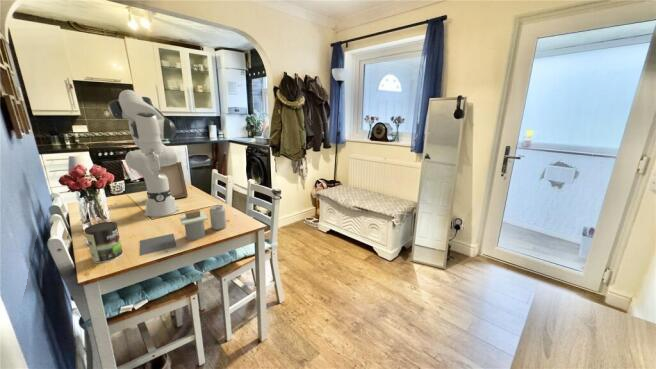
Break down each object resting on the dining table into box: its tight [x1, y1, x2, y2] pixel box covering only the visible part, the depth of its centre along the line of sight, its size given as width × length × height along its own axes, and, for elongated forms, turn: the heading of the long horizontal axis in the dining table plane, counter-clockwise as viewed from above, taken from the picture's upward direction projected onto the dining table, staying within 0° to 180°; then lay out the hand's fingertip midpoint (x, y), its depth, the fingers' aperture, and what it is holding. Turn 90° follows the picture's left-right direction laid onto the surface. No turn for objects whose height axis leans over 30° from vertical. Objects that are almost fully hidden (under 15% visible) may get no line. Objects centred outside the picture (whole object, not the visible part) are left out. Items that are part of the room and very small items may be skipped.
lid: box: [178, 209, 209, 226], centre depth 127 cm, size 11×11×3 cm
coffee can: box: [84, 221, 124, 264], centre depth 109 cm, size 10×10×14 cm
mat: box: [138, 233, 178, 257], centre depth 122 cm, size 16×14×1 cm
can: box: [209, 204, 227, 231], centre depth 139 cm, size 8×8×12 cm
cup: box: [184, 220, 206, 241], centre depth 128 cm, size 8×8×10 cm
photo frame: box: [159, 161, 189, 199], centre depth 181 cm, size 15×22×25 cm
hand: (156, 176), depth 127 cm, fingers open, 8 cm apart
